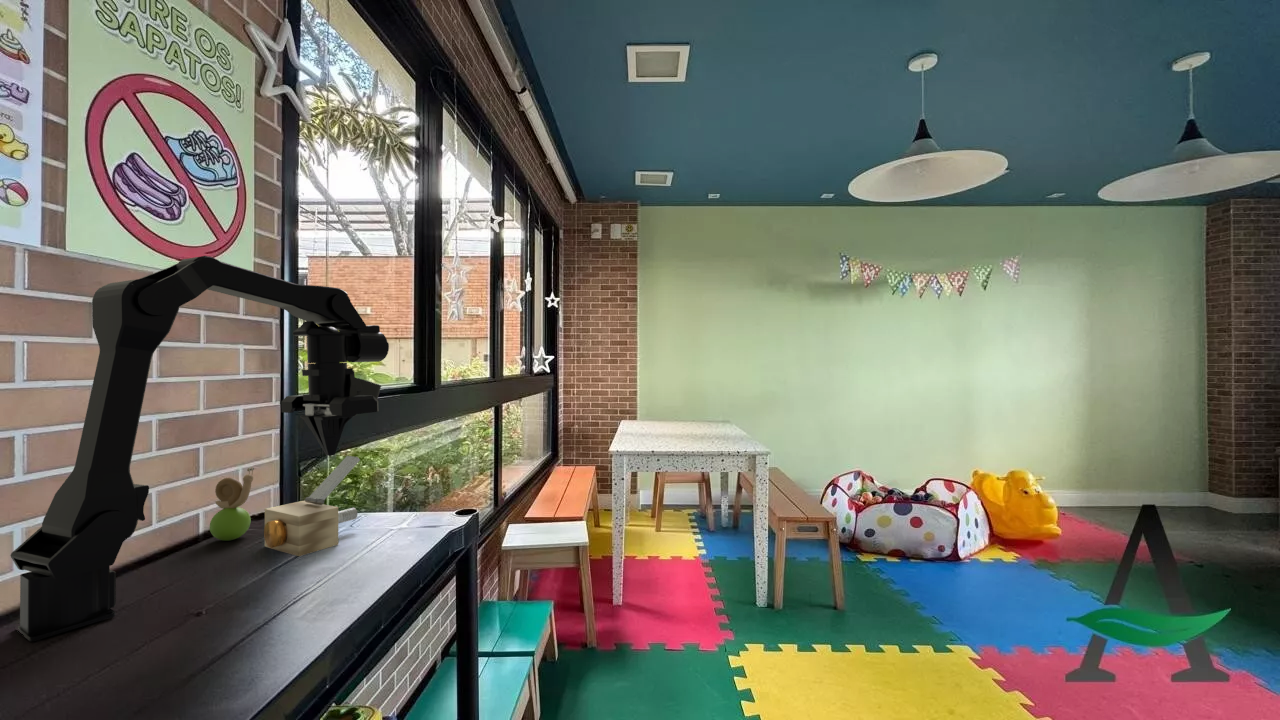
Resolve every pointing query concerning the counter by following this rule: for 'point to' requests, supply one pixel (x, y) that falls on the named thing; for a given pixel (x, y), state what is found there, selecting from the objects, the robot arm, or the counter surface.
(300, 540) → the block
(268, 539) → the pin
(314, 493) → the bar
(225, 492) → the snail figurine
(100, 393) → the robot arm
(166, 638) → the counter surface
